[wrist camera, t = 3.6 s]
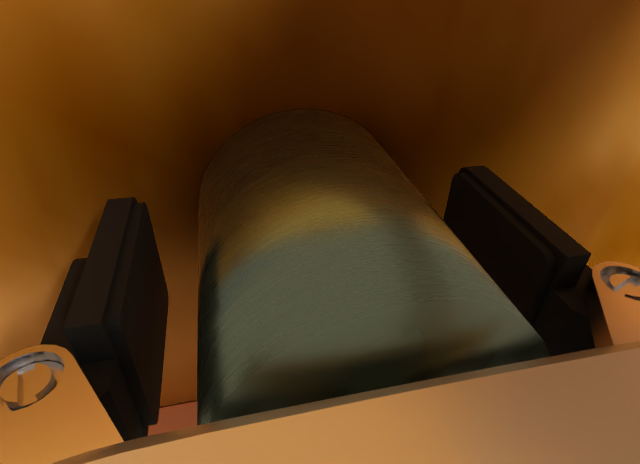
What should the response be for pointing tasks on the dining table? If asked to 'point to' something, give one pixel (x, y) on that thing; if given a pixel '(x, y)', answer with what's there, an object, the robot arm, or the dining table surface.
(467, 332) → the tea tin
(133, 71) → the dining table surface
